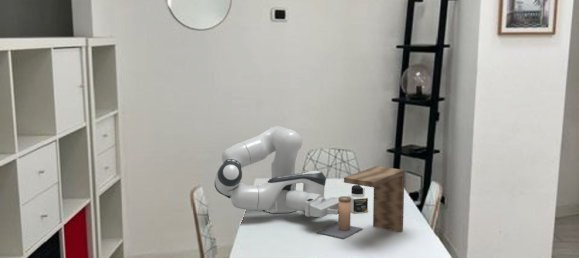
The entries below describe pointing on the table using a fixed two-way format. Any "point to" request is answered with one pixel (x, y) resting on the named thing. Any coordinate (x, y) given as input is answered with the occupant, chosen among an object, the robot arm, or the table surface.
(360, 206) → the medicine bottle
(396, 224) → the walnut stand
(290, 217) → the table surface
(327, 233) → the grey mat
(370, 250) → the table surface
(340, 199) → the terracotta jar
